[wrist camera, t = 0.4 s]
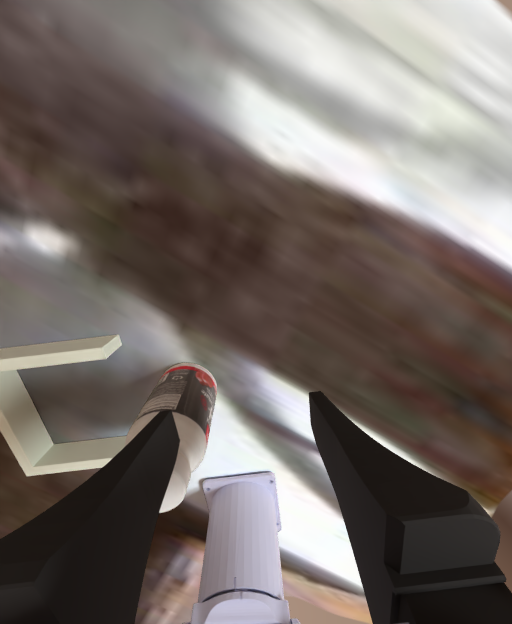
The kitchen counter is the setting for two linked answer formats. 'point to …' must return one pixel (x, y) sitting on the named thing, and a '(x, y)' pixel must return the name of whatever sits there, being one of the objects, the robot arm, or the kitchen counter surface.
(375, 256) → the kitchen counter surface
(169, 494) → the pill bottle
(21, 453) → the u-shaped bracket
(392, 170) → the kitchen counter surface
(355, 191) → the kitchen counter surface
